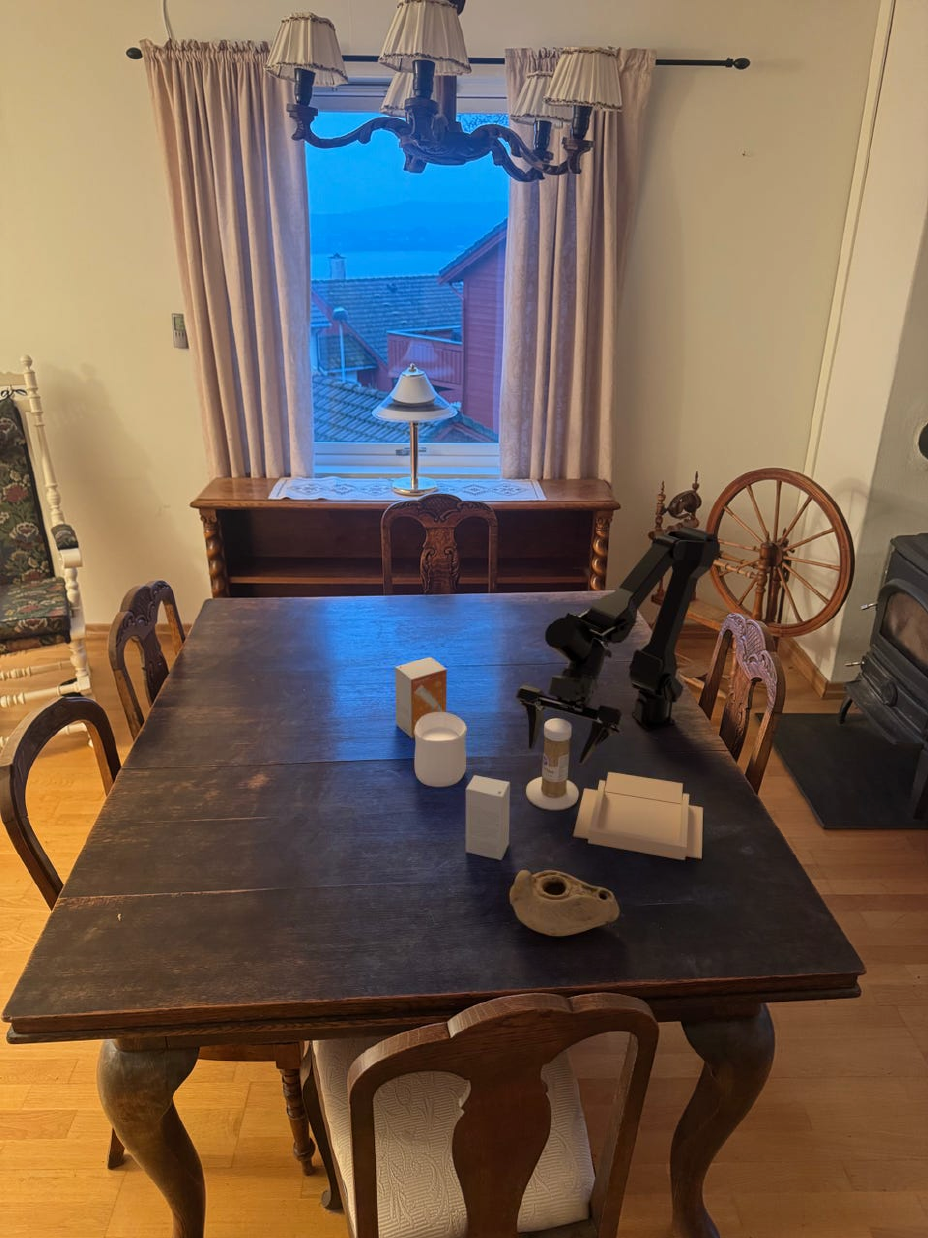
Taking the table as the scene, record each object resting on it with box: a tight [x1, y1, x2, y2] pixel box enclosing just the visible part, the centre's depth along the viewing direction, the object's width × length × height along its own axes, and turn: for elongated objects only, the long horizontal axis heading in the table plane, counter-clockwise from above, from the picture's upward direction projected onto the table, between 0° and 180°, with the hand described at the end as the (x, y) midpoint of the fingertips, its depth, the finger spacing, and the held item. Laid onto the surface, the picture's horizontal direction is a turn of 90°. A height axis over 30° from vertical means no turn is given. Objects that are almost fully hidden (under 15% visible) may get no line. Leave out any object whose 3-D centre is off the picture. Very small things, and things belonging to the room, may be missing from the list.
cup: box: [414, 711, 468, 788], centre depth 150 cm, size 10×10×10 cm
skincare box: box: [465, 774, 511, 861], centre depth 131 cm, size 6×4×12 cm
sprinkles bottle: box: [541, 717, 573, 798], centre depth 143 cm, size 5×5×13 cm
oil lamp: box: [509, 869, 620, 937], centre depth 118 cm, size 11×15×8 cm
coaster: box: [525, 776, 580, 811], centre depth 146 cm, size 9×9×1 cm
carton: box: [573, 771, 704, 861], centre depth 141 cm, size 20×20×2 cm
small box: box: [394, 656, 448, 739], centre depth 163 cm, size 8×6×13 cm
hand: (555, 756), depth 143 cm, fingers open, 9 cm apart
